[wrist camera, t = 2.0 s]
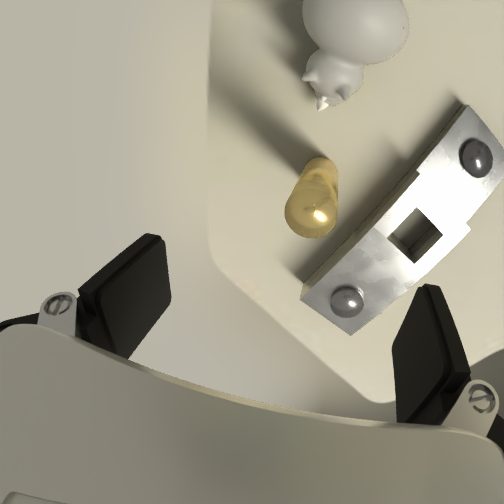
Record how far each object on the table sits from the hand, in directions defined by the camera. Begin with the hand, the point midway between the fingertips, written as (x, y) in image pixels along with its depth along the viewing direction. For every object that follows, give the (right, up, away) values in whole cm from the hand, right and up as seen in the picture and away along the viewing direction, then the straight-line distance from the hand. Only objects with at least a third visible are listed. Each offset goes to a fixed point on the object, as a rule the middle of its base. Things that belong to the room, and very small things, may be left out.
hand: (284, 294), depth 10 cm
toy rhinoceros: (+7, +18, +9) cm, 21 cm away
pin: (+5, +8, +14) cm, 17 cm away
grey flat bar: (+13, +4, +14) cm, 20 cm away
